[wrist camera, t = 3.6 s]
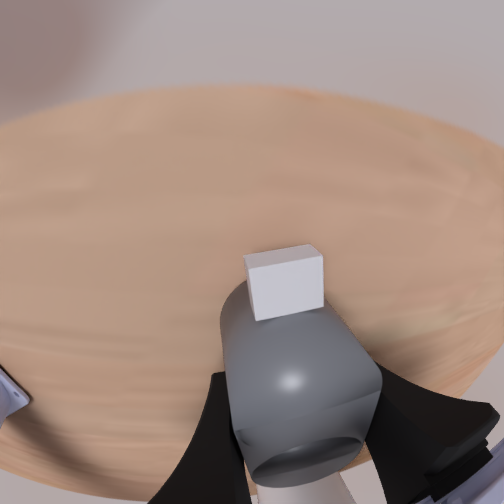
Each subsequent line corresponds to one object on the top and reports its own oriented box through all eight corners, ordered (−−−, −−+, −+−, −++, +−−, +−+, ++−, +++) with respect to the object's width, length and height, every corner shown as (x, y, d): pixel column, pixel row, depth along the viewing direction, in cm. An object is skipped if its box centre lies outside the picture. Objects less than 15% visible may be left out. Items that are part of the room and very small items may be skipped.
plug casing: (202, 241, 10) (200, 321, 5) (321, 222, 10) (403, 277, 6) (242, 416, 13) (258, 494, 9) (320, 398, 14) (352, 468, 9)
